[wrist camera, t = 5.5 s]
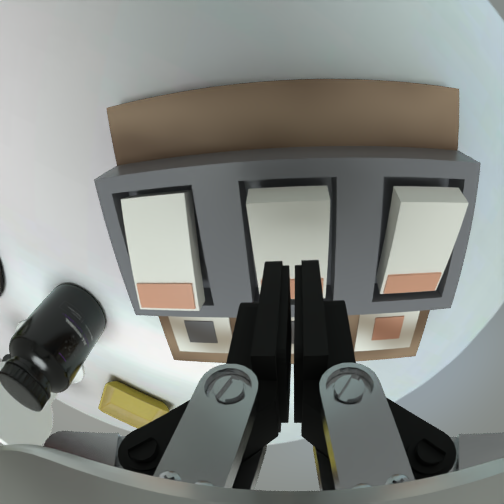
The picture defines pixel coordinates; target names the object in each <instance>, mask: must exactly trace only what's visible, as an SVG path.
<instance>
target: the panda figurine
mask: <svg viewBox="0 0 504 504" xmlns="http://www.w3.org/2000/svg"><path fill="white" fill-rule="evenodd" d="M25 321H26V320H23V321H21V322H20V323H19V324H18V325H17V327H16V331H17V330H18V329H19V328H20V327H21V326H22V324H23V323H24V322H25ZM10 358H11V356H10V354H7V355H5V356H4V357H3V360H2V362H0V370H1V369H2V368H3V366H4V365H5V362H6V361H7V360H8V359H10ZM83 377H84V367H83V365H82V366H81V368H80V370H79V371H78V373H77V374H76V376H75V378H74V379H73V381H72V383H78V382H80V381H81V380H82V379H83ZM57 394H58V393H51V397H50V399H49V400H48V401H47V402H46V404H45V406H44V407H43V409H42V410H41V411H39V412H37V411H32V410H31V409H28V408H27V407H25V406H23V405H22V404H20V403H19V402H18V401H16V400H15V399H14V398H13V397H12V396H11V395H10V394H9V393H8V392H7V391H6V390H5V389H4V387H3V386H2V385H1V383H0V442H1V443H3V444H4V445H9V444H32V445H39V446H41V445H42V444H43V443H44V442H45V441H46V440H47V438H48V437H49V435H50V433H51V430H52V426H53V410H52V407H51V404H52V403H53V401H54V399H55V397H56V396H57Z"/></svg>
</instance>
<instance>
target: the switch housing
mask: <svg viewBox="0 0 504 504" xmlns="http://www.w3.org/2000/svg"><path fill="white" fill-rule="evenodd" d="M479 173H480V163H479V162H478V161H476V160H474V159H472V158H471V157H469V156H467V155H465V154H463V153H461V152H459V151H457V150H445V149H431V148H413V147H386V146H316V147H288V148H269V149H253V150H240V151H228V152H217V153H207V154H198V155H189V156H180V157H172V158H165V159H157V160H150V161H143V162H137V163H130V164H124V165H118V166H116V167H114V168H112V169H111V170H109V171H108V172H106V173H104V174H103V175H101V176H99V177H98V178H96V179H95V180H94V181H95V185H96V189H97V193H98V197H99V201H100V205H101V209H102V212H103V216H104V219H105V223H106V226H107V230H108V233H109V237H110V240H111V243H112V247H113V250H114V253H115V256H116V259H117V262H118V265H119V268H120V271H121V274H122V277H123V280H124V283H125V286H126V289H127V292H128V295H129V297H130V300H131V303H132V306H133V308H134V311H135V314H136V315H149V316H175V317H218V318H237V313H238V309H239V305H240V303H241V302H259V297H260V294H259V288H258V281H257V274H256V268H255V261H254V254H253V248H252V241H251V234H250V228H249V221H248V215H247V208H246V200H247V195H248V189H253V188H272V187H295V186H327V187H328V192H329V197H330V225H329V248H328V267H327V283H326V297H325V298H323V301H334V300H344V301H345V304H346V309H347V314H348V315H365V314H382V313H397V312H411V311H423V310H435V309H445V308H451V305H452V302H453V299H454V295H455V292H456V288H457V285H458V281H459V277H460V274H461V270H462V266H463V262H464V258H465V253H466V249H467V245H468V240H469V235H470V230H471V225H472V220H473V214H474V208H475V202H476V195H477V188H478V181H479ZM394 186H420V187H454V188H459V189H460V191H461V192H462V194H463V195H464V197H465V198H466V200H467V201H468V207H467V210H466V213H465V216H464V219H463V222H462V225H461V228H460V231H459V234H458V236H457V239H456V242H455V245H454V247H453V250H452V253H451V255H450V258H449V260H448V263H447V265H446V268H445V270H444V273H443V275H442V277H441V280H440V282H439V284H438V287H437V289H436V291H422V292H407V293H390V294H380V293H379V288H378V284H377V279H376V275H377V271H378V267H379V262H380V258H381V253H382V248H383V243H384V238H385V233H386V228H387V222H388V217H389V211H390V205H391V199H392V193H393V187H394ZM183 190H192V196H193V205H194V215H195V224H196V233H197V241H198V249H199V258H200V266H201V273H202V281H203V288H204V296H205V302H204V304H203V305H202V307H201V309H200V311H180V310H148V309H140V306H139V301H138V297H137V292H136V287H135V282H134V277H133V272H132V267H131V262H130V256H129V251H128V245H127V239H126V233H125V226H124V220H123V213H122V206H121V199H123V198H126V197H129V196H134V195H143V194H152V193H162V192H172V191H183ZM294 312H295V299H291V317H294Z"/></svg>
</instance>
